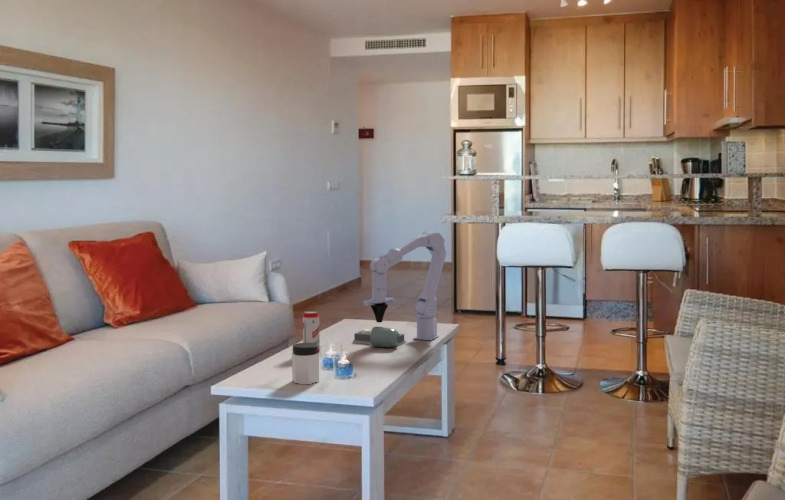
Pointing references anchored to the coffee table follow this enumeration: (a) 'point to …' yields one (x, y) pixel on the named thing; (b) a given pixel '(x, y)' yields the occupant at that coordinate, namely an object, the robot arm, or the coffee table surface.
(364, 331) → the white egg
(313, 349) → the jar
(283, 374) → the coffee table surface
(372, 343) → the cup
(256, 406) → the coffee table surface
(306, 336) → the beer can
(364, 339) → the gray compartment tray
